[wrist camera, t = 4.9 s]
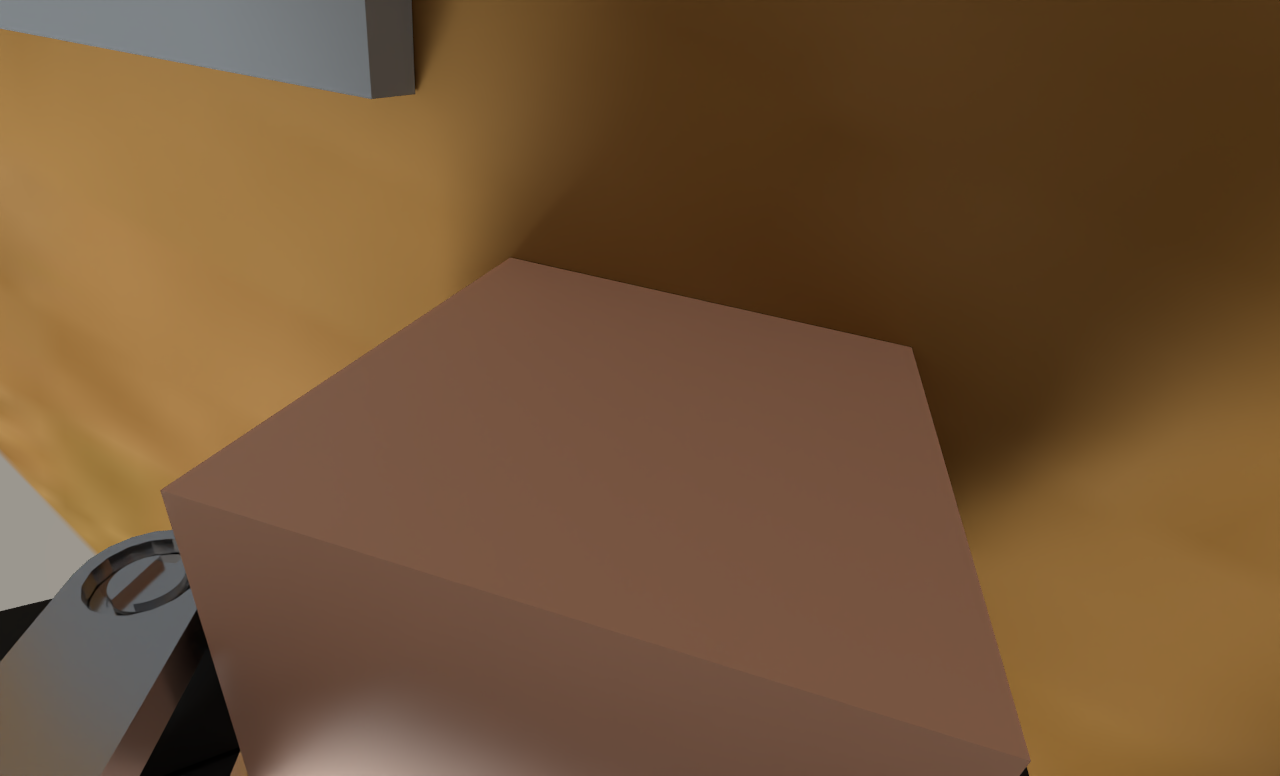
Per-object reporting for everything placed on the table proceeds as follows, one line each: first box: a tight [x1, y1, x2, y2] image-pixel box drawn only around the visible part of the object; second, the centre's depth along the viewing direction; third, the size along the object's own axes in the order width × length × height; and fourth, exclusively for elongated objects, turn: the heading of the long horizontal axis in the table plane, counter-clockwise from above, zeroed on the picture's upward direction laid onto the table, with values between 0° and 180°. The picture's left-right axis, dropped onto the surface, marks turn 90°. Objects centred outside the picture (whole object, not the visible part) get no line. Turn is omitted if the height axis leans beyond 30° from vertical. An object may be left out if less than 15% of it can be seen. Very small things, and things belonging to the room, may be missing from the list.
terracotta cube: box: [161, 258, 1031, 776], centre depth 8 cm, size 6×6×6 cm
